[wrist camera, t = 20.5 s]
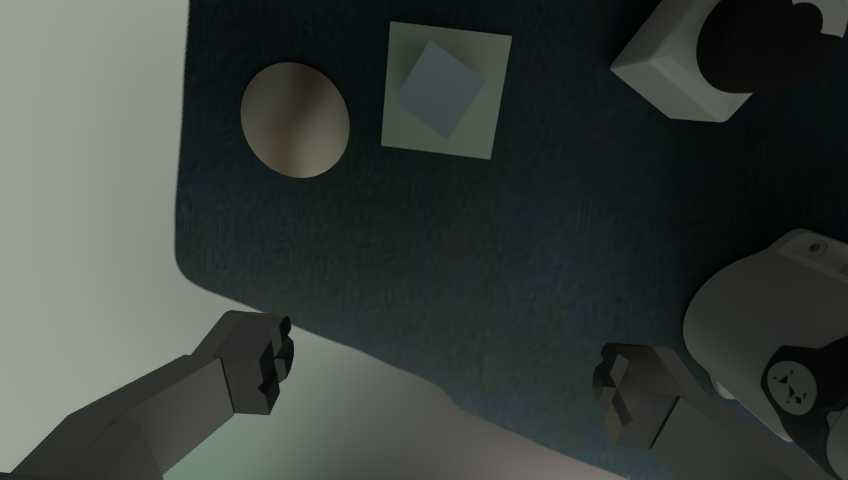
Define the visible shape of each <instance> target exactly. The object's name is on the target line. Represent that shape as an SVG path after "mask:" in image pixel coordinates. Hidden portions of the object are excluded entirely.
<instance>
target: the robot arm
mask: <svg viewBox="0 0 848 480" xmlns="http://www.w3.org/2000/svg"><path fill="white" fill-rule="evenodd" d="M812 245H813V246H812ZM811 246H812V248H810V247H811ZM290 330H291V322H290V318H289V317H288V316H284V315H275V314H266V313H256V312H243V311H234V310H230V311H227V312H225V313H224V314H223V316H222V317H221V318H220V319H219V321H218V322H217V323H216V324H215V326H214V327H213V328H212V329H211V331H210V332H209V333H208V335H207V336H206V337H205V338H204V339H203V340H202V342H201V343H200V344H199V346H198V347H197V348H196V349H195V351H194V352H193V353H192V354H191V355H183V356H181V357H179V358H177V359H175V360H173V361H172V362H170V363H168V364H166V365H164V366H162V367H160V368H158V369H156V370H154V371H152V372H150V373H149V374H147V375H145V376H143V377H141V378H139V379H137V380H135V381H133V382H131V383H129V384H127V385H125V386H124V387H122V388H120V389H118V390H116V391H114V392H112V393H110V394H108V395H106V396H104V397H102V398H100V399H98V400H96V401H95V402H93V403H91V404H89V405H87V406H85V407H83V408H81V409H79V410H78V411H75V412H73V413H71V414H70V415H68V416H67V417H66V418H65V419H64V420H63V421H62V422H61V423H60V424H59V425H58V426H57V427H56V428H55V429H54V430H53V431H52V432H51V433H50V434H49V435H48V436H47V437H46V438H45V439H44V440H43V441H42V442H41V443H40V444H39V445H38V446H37V447H36V448H35V449H34V450H33V451H32V452H31V453H30V454H29V455H28V456H27V457H26V458H25V459H24V460H23V461H22V462H21V463H20V464H19V465H18V466H17V467H16V468H15V469H14V470H13V471H12V472H11V473H4V472H0V480H164V479H163V477H162V475H163V474H164V473H166V472H167V471H168V470H169V469H170V468H172V467H173V466H174V465H175V464H176V463H177V462H179V461H180V460H181V459H182V458H183V457H185V456H186V455H187V454H188V453H189V452H191V451H192V450H193V449H194V448H195V447H197V446H198V445H199V444H200V443H201V442H203V441H204V440H205V439H206V438H207V437H208V436H210V435H211V434H212V433H213V432H214V431H216V430H217V429H218V428H219V427H220V426H222V425H223V424H224V423H225V422H226V421H228V420H229V419H230V418H231V417H232V416H233V415H234V413H242V414H260V415H270V413H271V410H272V408H273V406H274V404H275V402H276V400H277V398H278V395H279V393H280V389H279V383H280V382H282V381H283V380H284V379H286V378H287V376H288V374H289V372H290V369H291V366H292V362H293V357H294V344H293V341H292V339H291V338H290V337H289V336H288V334H289V332H290ZM683 336H684V341H685V344H686V347H687V349H688V351H689V353H690V354H691V356H692V357H693V358H694V359H695V360H696V362H698V363H699V364H700V365H701V366H702V367H703V368H704V369H705V370H706V371H707V372H708V373H709V376H710V379H711V382H712V385H713V387H714V389H715V390H716V391H717V392H718V393H719V394H720V395H721V396H723V397H724V398H727V399H737V400H738V401H739V402H740V403H741V404H742V405H744V406H745V407H746V408H747V409H748V410H749V411H750V412H751V413H753V414H754V415H755V416H756V417H757V418H758V419H759V420H761V421H762V422H763V423H764V424H765V425H766V426H767V427H769V428H770V429H771V430H772V431H773V432H774V433H776V434H777V435H778V436H779V437H781V438H782V439H784V440H786V441H789V442H791V441H794V442H795V443H796V444H797V445H798V446H799V447H800V448H801V450H802V452H803V453H804V454H805V455H806V456H807V457H808V458H809V459H810V460H811V461H812V462H813V463H815V464H816V465H817V466H819V467H820V468H822V469H823V470H824V471H825V472H826V473H825V472H824V471H822V470H821V469H819V468H818V467H816V466H815V465H813V464H812V463H810V462H809V461H807V460H806V459H804V458H803V457H801V456H800V455H798V454H797V453H795V452H794V451H792V450H791V449H789V448H788V447H786V446H785V445H783V444H782V443H780V442H779V441H777V440H776V439H774V438H773V437H771V436H770V435H768V434H767V433H765V432H764V431H762V430H761V429H759V428H758V427H756V426H755V425H753V424H752V423H750V422H749V421H747V420H746V419H744V418H743V417H741V416H740V415H738V414H737V413H735V412H734V411H732V410H731V409H729V408H728V407H726V406H725V405H723V404H722V403H720V402H719V401H717V400H712V399H709V398H708V396H707V395H706V393H705V392H704V391H703V389H702V388H701V387H700V385H699V384H698V383H697V381H696V380H695V379H694V377H693V376H692V374H691V373H690V372H689V370H688V369H687V368H686V366H685V365H684V364H683V362H682V361H681V359H680V358H679V357H678V355H677V354H676V353H675V351H674V350H673V349H671V348H670V347H667V346H652V345H647V346H645V345H633V344H620V343H606V344H605V345H604V346H603V349H602V351H601V356H602V358H603V360H604V361H603V362H602V363H600V364H599V365H597V366H596V367H595V370H594V373H593V376H592V389H593V393H594V397H595V400H596V402H597V404H598V405H599V406H600V407H601V408H602V409H603V410H604V411H605V412H607V414H606V416H605V419H604V422H605V424H606V426H607V429H608V431H609V433H610V436H611V438H612V441H613V443H614V445H618V446H627V447H636V448H644V449H651V450H650V451H651V452H652V453H653V454H654V455H655V456H656V458H657V459H658V460H659V461H660V462H661V463H662V464H663V465H664V466H665V467H666V468H667V469H668V470H669V471H670V472H671V473H672V474H673V475H674V476H675V477H676V478H677V479H678V480H848V243H845V242H842V241H839V240H836V239H833V238H830V237H827V236H824V235H821V234H819V233H816V232H813V231H810V230H807V229H795V230H792V231H790V232H788V233H787V234H785V235H784V236H782V237H781V238H780V239H778V240H777V241H776V242H774V243H773V244H772V245H771V246H769V247H768V248H767V249H765V250H763V251H761V252H758V253H756V254H753V255H751V256H748V257H745V258H743V259H740V260H738V261H736V262H734V263H732V264H730V265H728V266H726V267H725V268H723V269H722V270H720V271H719V272H717V273H716V274H715V275H713V276H712V277H711V278H710V279H709V280H708V281H707V282H706V283H705V284H704V285H703V286H702V287H701V288H700V289H699V290H698V292H697V293H696V294H695V296H694V297H693V299H692V301H691V302H690V304H689V307H688V309H687V311H686V314H685V318H684V324H683ZM827 473H828V474H829V475H828V474H827Z"/></svg>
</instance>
